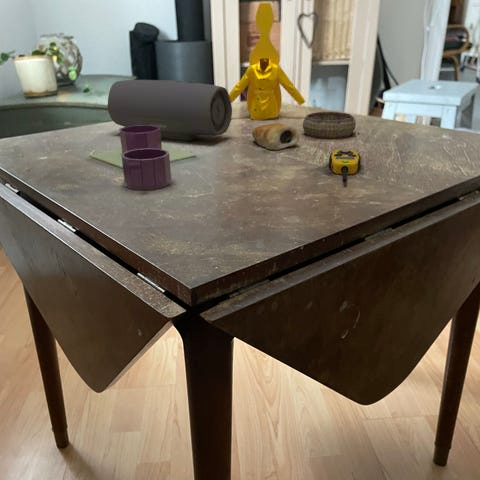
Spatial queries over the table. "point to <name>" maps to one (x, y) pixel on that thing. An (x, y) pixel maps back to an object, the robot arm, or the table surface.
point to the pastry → (275, 136)
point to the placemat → (116, 158)
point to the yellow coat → (264, 73)
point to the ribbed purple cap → (146, 169)
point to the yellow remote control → (344, 162)
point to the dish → (140, 137)
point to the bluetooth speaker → (171, 107)
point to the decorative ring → (329, 124)
